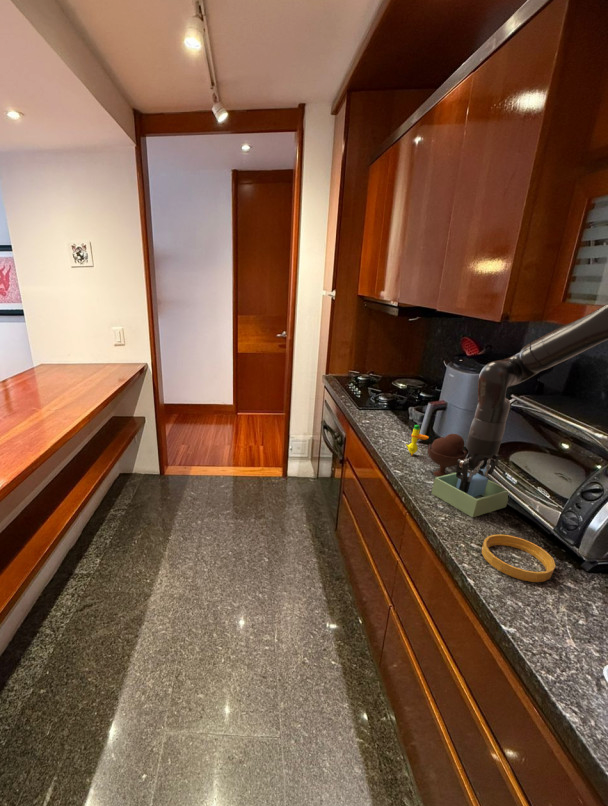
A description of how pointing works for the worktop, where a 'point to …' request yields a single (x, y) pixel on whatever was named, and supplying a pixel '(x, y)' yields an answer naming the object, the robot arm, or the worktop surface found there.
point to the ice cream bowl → (446, 452)
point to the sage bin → (471, 506)
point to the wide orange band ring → (524, 546)
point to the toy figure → (415, 439)
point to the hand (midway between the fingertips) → (470, 489)
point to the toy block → (475, 485)
